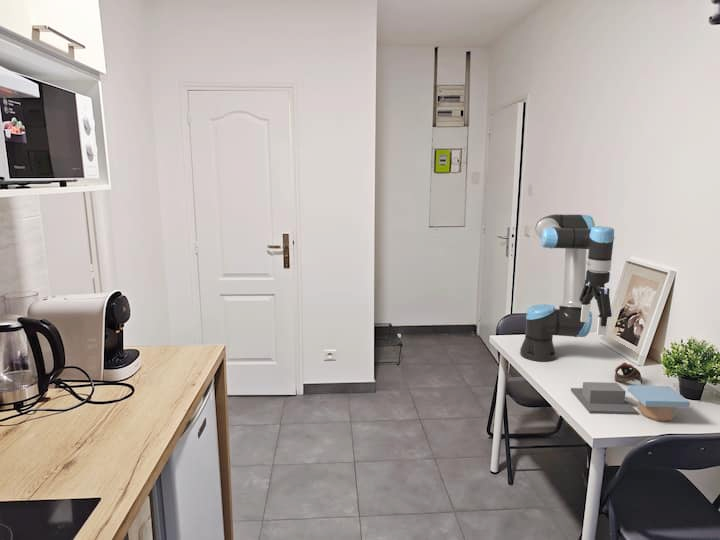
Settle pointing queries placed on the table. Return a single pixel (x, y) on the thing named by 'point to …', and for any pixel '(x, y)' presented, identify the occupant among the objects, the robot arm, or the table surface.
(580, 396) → the grey stepped plinth
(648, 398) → the cover sheet
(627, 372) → the brown openwork dome
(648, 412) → the brown octagonal bowl
